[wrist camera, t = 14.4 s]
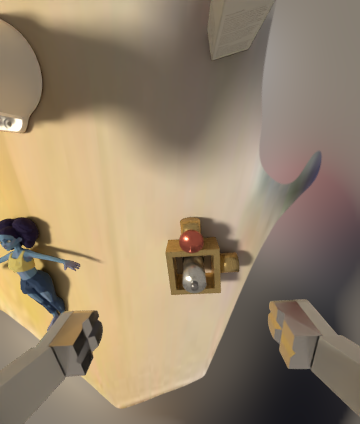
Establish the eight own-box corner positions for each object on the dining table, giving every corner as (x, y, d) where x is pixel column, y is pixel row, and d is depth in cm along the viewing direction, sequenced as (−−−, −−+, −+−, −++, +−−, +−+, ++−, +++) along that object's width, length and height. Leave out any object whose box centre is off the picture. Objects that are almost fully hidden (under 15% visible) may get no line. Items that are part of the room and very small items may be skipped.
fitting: (173, 278, 41) (170, 300, 35) (165, 219, 36) (161, 232, 30) (234, 275, 40) (242, 297, 34) (234, 214, 35) (243, 226, 29)
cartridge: (183, 268, 40) (182, 298, 31) (181, 250, 38) (180, 277, 30) (204, 267, 40) (208, 297, 31) (203, 249, 38) (207, 276, 30)
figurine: (66, 320, 47) (51, 340, 42) (-20, 264, 43) (-48, 278, 38) (111, 276, 42) (100, 293, 37) (18, 205, 37) (-9, 213, 32)
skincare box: (245, 15, 25) (291, -98, 14) (248, 50, 27) (293, -29, 15) (205, 29, 26) (218, -69, 15) (210, 62, 27) (225, -5, 16)
